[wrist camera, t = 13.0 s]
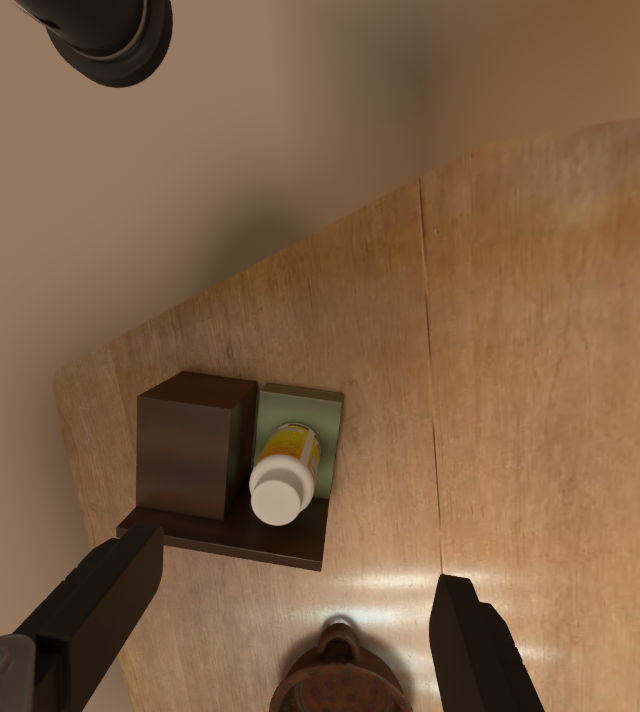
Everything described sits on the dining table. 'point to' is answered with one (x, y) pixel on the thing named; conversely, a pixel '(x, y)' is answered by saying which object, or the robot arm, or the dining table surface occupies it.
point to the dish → (339, 679)
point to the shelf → (227, 466)
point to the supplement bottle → (285, 474)
